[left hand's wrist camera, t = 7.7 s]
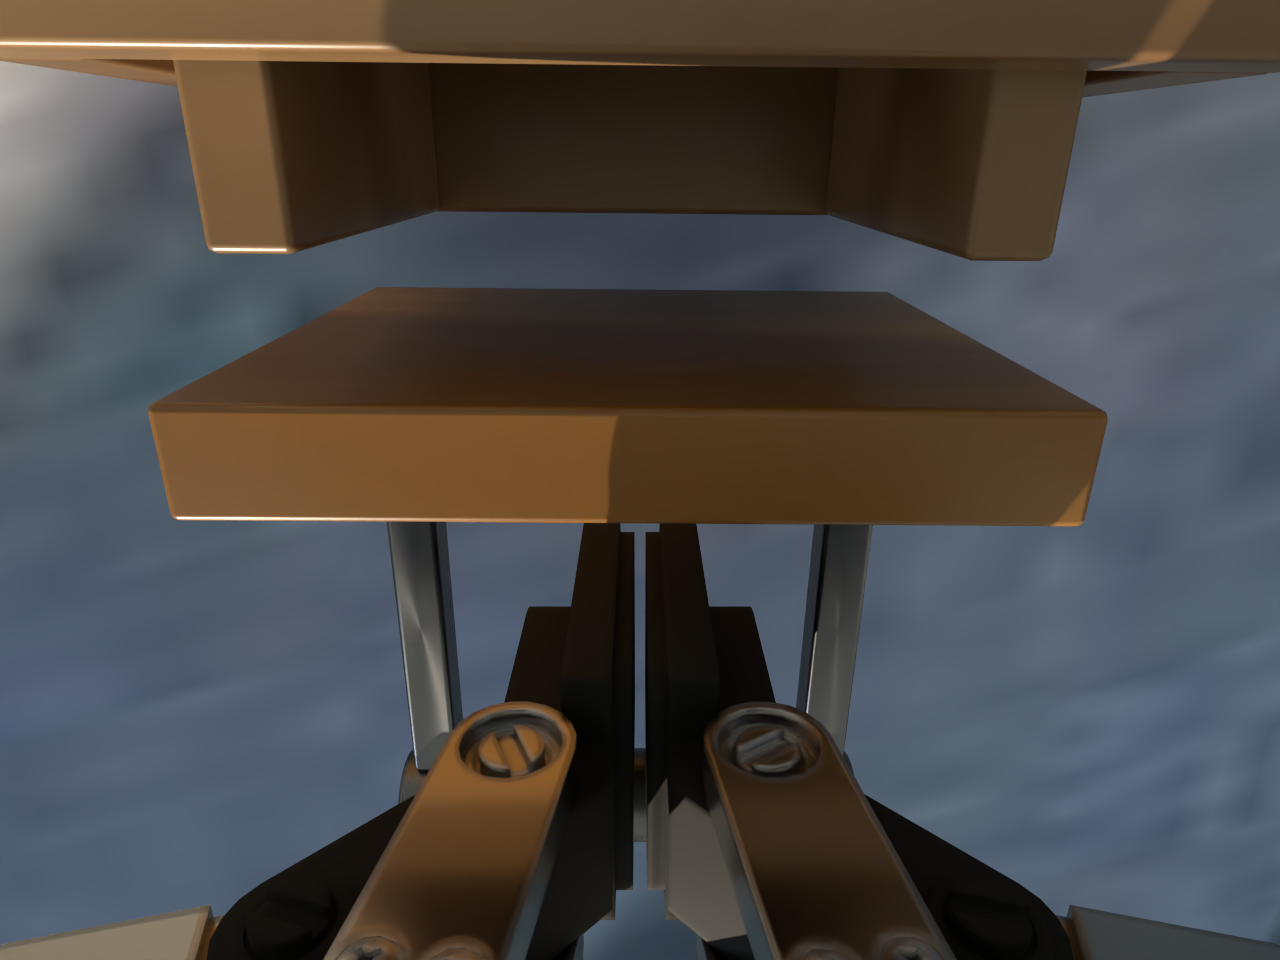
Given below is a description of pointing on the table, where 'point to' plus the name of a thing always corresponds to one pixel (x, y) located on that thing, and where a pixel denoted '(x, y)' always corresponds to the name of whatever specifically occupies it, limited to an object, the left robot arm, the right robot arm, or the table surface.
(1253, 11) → the cabinet
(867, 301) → the drawer
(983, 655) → the table surface
